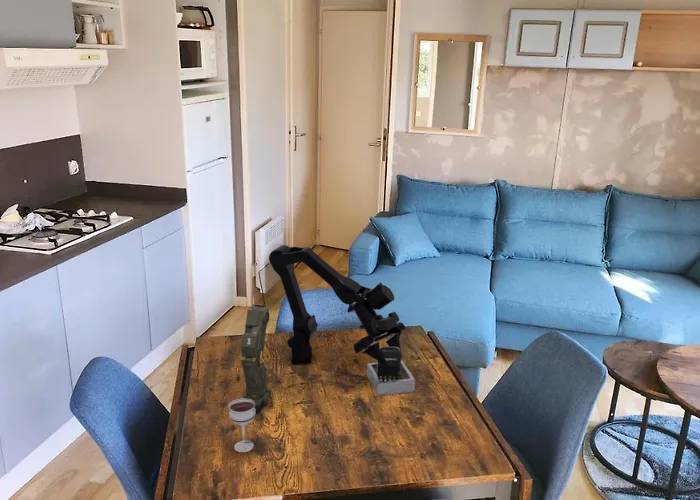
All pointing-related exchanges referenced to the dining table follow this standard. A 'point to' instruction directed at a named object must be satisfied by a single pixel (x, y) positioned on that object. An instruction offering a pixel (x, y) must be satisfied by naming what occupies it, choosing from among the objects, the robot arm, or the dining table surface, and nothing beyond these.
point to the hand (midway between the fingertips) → (393, 361)
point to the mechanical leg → (255, 356)
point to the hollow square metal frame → (391, 386)
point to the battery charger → (389, 364)
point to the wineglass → (242, 419)
